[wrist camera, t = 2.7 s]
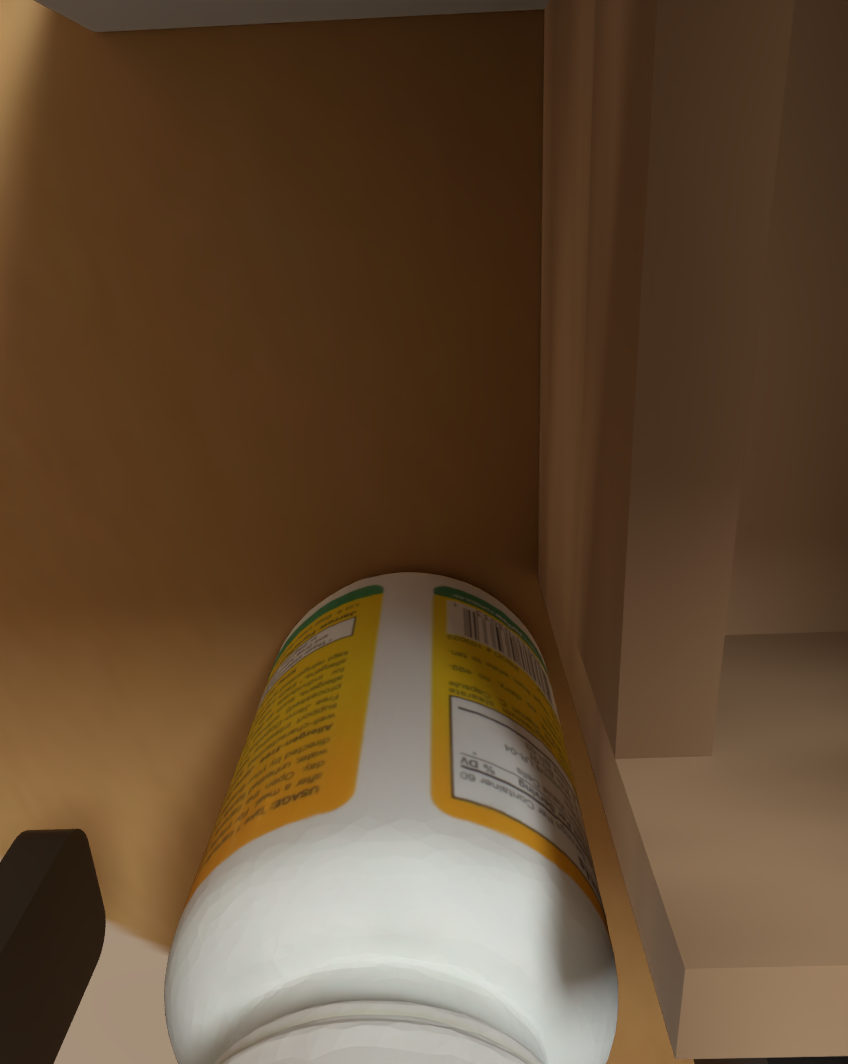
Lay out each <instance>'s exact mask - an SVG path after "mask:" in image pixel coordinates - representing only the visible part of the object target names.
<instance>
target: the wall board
mask: <svg viewBox="0 0 848 1064" xmlns="http://www.w3.org/2000/svg"><path fill="white" fill-rule="evenodd" d="M34 1H36V2H38V3H40V4H42V5H43V6H45V7H47V8H49V9H51V10H53V11H55V12H57V13H59V14H61V15H62V16H64V17H66V18H68V19H70V20H72V21H74V22H76V23H78V24H79V25H81V26H83V27H85V28H87V29H89V30H91V31H93V32H110V31H130V30H149V29H168V28H188V27H207V26H227V25H246V24H265V23H285V22H304V21H323V20H343V19H362V18H381V17H401V16H420V15H439V14H459V13H478V12H497V11H517V10H536V9H545V7H546V5H547V4H548V2H549V0H34Z"/></svg>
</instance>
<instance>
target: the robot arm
mask: <svg viewBox="0 0 848 1064" xmlns="http://www.w3.org/2000/svg"><path fill="white" fill-rule="evenodd" d="M105 924H106V922H105V910H104V905H103V901H102V897H101V892H100V888H99V884H98V880H97V876H96V872H95V868H94V863H93V859H92V855H91V851H90V847H89V843H88V839H87V836H86V834H85V833H84V832H83V831H82V830H81V829H56V830H27V831H24V832H22V833H21V834H20V835H19V836H18V837H17V838H16V839H15V841H14V842H13V844H12V845H11V847H10V848H9V850H8V851H7V853H6V854H5V856H4V857H3V859H2V860H1V862H0V1064H53V1063H54V1061H55V1059H56V1056H57V1054H58V1052H59V1050H60V1047H61V1045H62V1043H63V1040H64V1038H65V1036H66V1034H67V1031H68V1029H69V1027H70V1024H71V1022H72V1020H73V1017H74V1015H75V1013H76V1011H77V1008H78V1006H79V1004H80V1001H81V999H82V997H83V995H84V992H85V990H86V988H87V985H88V983H89V981H90V979H91V976H92V974H93V971H94V969H95V967H96V965H97V962H98V960H99V957H100V954H101V951H102V947H103V942H104V936H105ZM694 1063H695V1064H848V1056H824V1057H773V1058H722V1059H694Z"/></svg>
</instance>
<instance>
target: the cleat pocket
mask: <svg viewBox="0 0 848 1064" xmlns="http://www.w3.org/2000/svg"><path fill="white" fill-rule="evenodd" d="M538 582H539V585H540V589H541V592H542V596H543V599H544V603H545V606H546V610H547V613H548V617H549V620H550V624H551V627H552V631H553V634H554V638H555V641H556V645H557V648H558V652H559V655H560V659H561V662H562V666H563V669H564V673H565V676H566V680H567V683H568V687H569V690H570V693H571V697H572V700H573V704H574V707H575V711H576V714H577V718H578V721H579V725H580V728H581V732H582V735H583V739H584V742H585V746H586V749H587V753H588V756H589V760H590V763H591V767H592V770H593V774H594V777H595V781H596V784H597V788H598V791H599V795H600V798H601V802H602V805H603V809H604V812H605V816H606V819H607V823H608V826H609V830H610V833H611V837H612V840H613V843H614V847H615V850H616V854H617V857H618V861H619V864H620V868H621V871H622V875H623V878H624V882H625V885H626V889H627V892H628V896H629V899H630V903H631V906H632V910H633V913H634V917H635V920H636V924H637V927H638V931H639V934H640V938H641V941H642V945H643V948H644V952H645V955H646V959H647V962H648V966H649V969H650V973H651V976H652V980H653V983H654V987H655V990H656V994H657V997H658V1000H659V1004H660V1007H661V1011H662V1014H663V1018H664V1021H665V1025H666V1028H667V1032H668V1035H669V1039H670V1042H671V1046H672V1049H673V1053H674V1056H675V1059H722V1058H773V1057H824V1056H848V0H549V2H548V4H547V5H546V7H545V9H544V95H543V182H542V269H541V357H540V444H539V531H538Z"/></svg>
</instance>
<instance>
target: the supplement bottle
mask: <svg viewBox="0 0 848 1064" xmlns="http://www.w3.org/2000/svg"><path fill="white" fill-rule="evenodd" d="M164 1000H165V1016H166V1022H167V1028H168V1034H169V1038H170V1041H171V1044H172V1047H173V1050H174V1053H175V1056H176V1059H177V1062H178V1064H606V1063H607V1060H608V1058H609V1055H610V1051H611V1047H612V1043H613V1040H614V1036H615V1031H616V1024H617V1013H618V980H617V972H616V965H615V958H614V953H613V948H612V944H611V940H610V936H609V932H608V926H607V920H606V915H605V912H604V908H603V904H602V900H601V896H600V892H599V888H598V884H597V880H596V875H595V871H594V866H593V862H592V857H591V853H590V849H589V844H588V840H587V836H586V832H585V827H584V823H583V819H582V815H581V810H580V806H579V802H578V798H577V794H576V790H575V785H574V781H573V776H572V772H571V768H570V763H569V759H568V754H567V750H566V746H565V742H564V737H563V733H562V729H561V725H560V720H559V716H558V712H557V707H556V703H555V699H554V695H553V690H552V686H551V683H550V679H549V675H548V672H547V668H546V664H545V662H544V659H543V657H542V654H541V652H540V649H539V648H538V646H537V644H536V642H535V640H534V639H533V637H532V635H531V634H530V632H529V631H528V630H527V628H526V627H525V626H524V625H523V623H522V622H521V621H520V620H519V619H518V618H517V617H516V616H515V615H514V614H513V613H512V612H511V611H510V610H509V609H508V608H507V607H506V606H505V605H503V604H502V603H501V602H500V601H498V600H497V599H496V598H494V597H493V596H491V595H489V594H488V593H486V592H484V591H483V590H481V589H479V588H477V587H475V586H473V585H470V584H468V583H466V582H463V581H459V580H456V579H453V578H449V577H445V576H442V575H435V574H429V573H417V572H399V573H391V574H384V575H379V576H375V577H370V578H365V579H362V580H359V581H356V582H354V583H352V584H350V585H348V586H346V587H344V588H342V589H341V590H339V591H337V592H335V593H334V594H332V595H330V596H328V597H327V598H326V599H325V600H323V601H322V602H320V603H319V604H317V605H316V606H315V607H314V608H313V609H311V610H310V611H309V612H308V613H307V614H306V615H305V616H304V617H303V618H302V619H301V620H300V621H299V622H298V623H297V625H296V626H295V627H294V628H293V629H292V631H291V632H290V634H289V635H288V637H287V638H286V640H285V641H284V643H283V645H282V647H281V649H280V651H279V653H278V656H277V658H276V661H275V663H274V665H273V667H272V670H271V672H270V674H269V678H268V682H267V685H266V687H265V690H264V693H263V696H262V698H261V701H260V704H259V707H258V709H257V712H256V715H255V718H254V721H253V724H252V726H251V729H250V732H249V735H248V737H247V740H246V743H245V746H244V748H243V751H242V754H241V756H240V759H239V762H238V765H237V767H236V770H235V773H234V775H233V778H232V781H231V784H230V786H229V789H228V791H227V794H226V796H225V799H224V802H223V804H222V807H221V810H220V813H219V816H218V819H217V821H216V824H215V827H214V829H213V832H212V835H211V837H210V840H209V843H208V845H207V848H206V850H205V853H204V855H203V858H202V861H201V863H200V866H199V868H198V871H197V874H196V877H195V880H194V882H193V885H192V888H191V891H190V894H189V896H188V899H187V902H186V904H185V907H184V909H183V912H182V915H181V918H180V921H179V924H178V927H177V930H176V933H175V936H174V939H173V943H172V946H171V949H170V953H169V957H168V963H167V969H166V976H165V990H164Z"/></svg>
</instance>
